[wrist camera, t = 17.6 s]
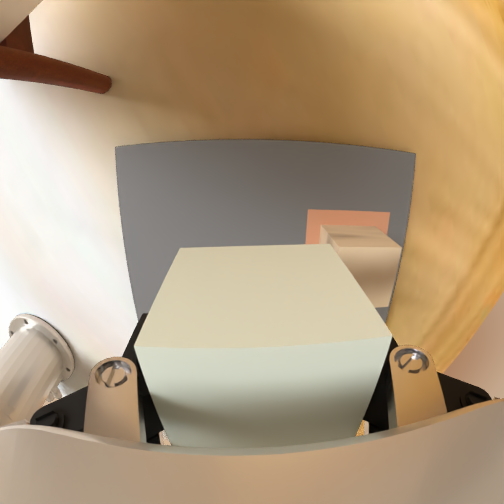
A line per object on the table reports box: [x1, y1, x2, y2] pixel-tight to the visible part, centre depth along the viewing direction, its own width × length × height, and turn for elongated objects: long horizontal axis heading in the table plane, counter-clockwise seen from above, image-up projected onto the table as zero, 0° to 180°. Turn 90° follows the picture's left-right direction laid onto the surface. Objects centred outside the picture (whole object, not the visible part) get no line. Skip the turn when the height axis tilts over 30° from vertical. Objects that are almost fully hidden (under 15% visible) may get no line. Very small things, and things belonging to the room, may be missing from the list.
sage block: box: [134, 244, 393, 448], centre depth 8 cm, size 5×5×5 cm
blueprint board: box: [115, 139, 416, 323], centre depth 30 cm, size 22×30×1 cm
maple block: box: [319, 225, 402, 308], centre depth 27 cm, size 6×6×6 cm
